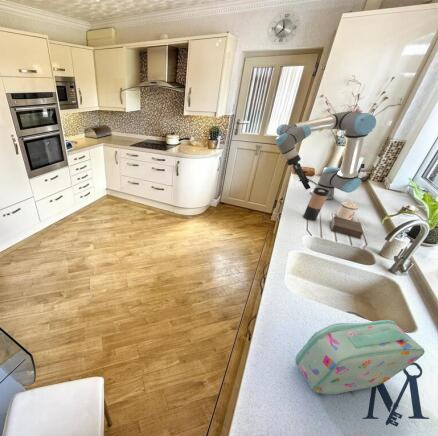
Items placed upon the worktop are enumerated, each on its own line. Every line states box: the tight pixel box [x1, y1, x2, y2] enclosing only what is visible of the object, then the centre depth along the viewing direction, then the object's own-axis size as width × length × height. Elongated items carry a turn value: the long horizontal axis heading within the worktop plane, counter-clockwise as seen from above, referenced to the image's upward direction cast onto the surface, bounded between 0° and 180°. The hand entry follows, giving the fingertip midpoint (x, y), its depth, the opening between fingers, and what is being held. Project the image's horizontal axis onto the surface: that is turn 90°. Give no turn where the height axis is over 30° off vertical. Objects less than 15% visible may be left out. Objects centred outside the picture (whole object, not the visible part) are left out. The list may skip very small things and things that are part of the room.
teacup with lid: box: [335, 200, 359, 221], centre depth 156 cm, size 12×9×12 cm
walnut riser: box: [330, 215, 364, 239], centre depth 143 cm, size 14×14×4 cm
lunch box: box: [294, 319, 426, 396], centre depth 64 cm, size 27×10×21 cm, turn 99°
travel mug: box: [302, 187, 329, 221], centre depth 150 cm, size 8×8×20 cm
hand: (307, 185), depth 149 cm, fingers open, 13 cm apart
